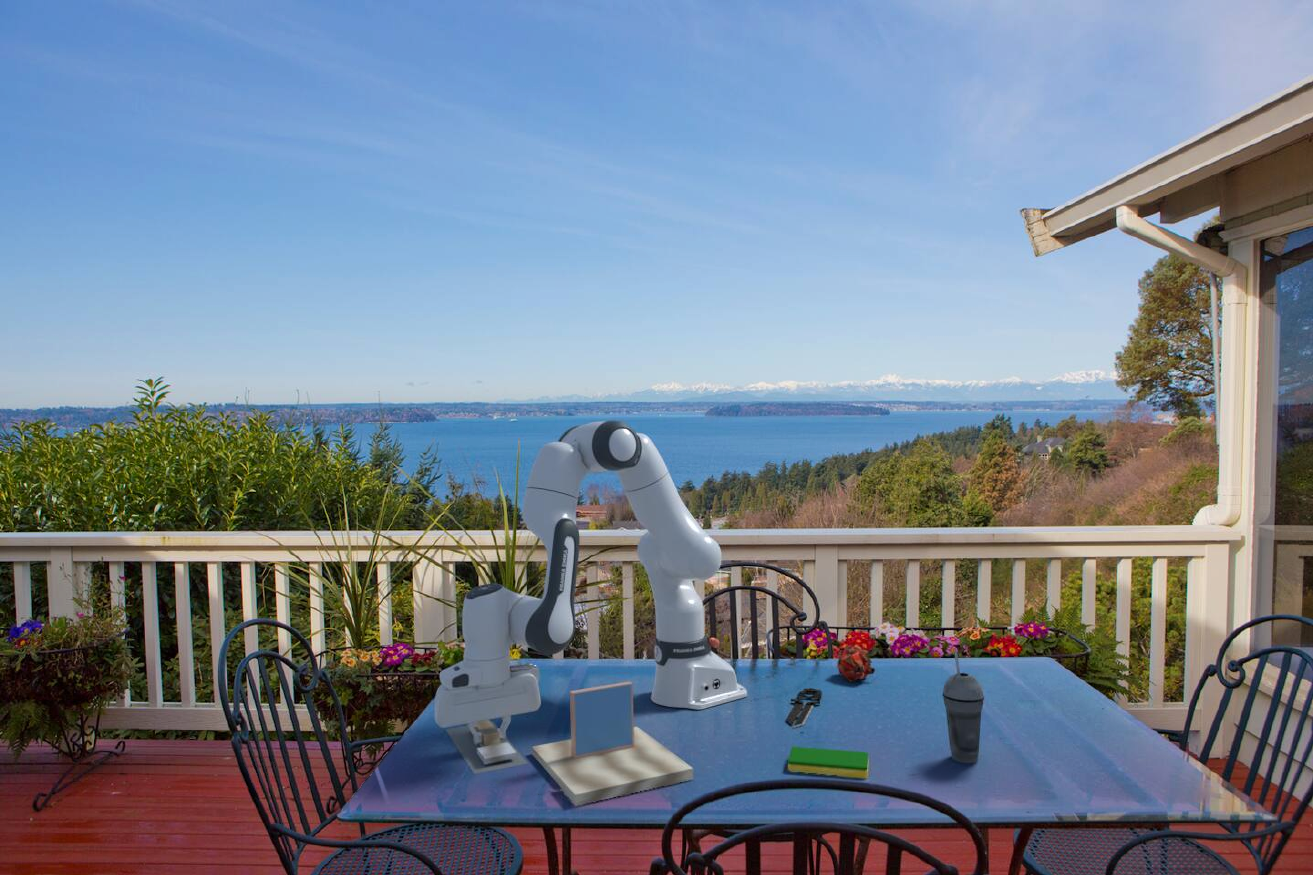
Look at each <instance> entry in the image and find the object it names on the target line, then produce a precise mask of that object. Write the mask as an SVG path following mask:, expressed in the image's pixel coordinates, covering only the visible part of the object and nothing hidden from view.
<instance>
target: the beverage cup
mask: <svg viewBox="0 0 1313 875" xmlns="http://www.w3.org/2000/svg"><path fill="white" fill-rule="evenodd" d="M953 652H954V660H955V667H956V673H954V674H952V675H951V676H949V677H948V678H947V680H946V681H945V683H944V685H943V690H942V698H943V702H944V706H945V713H946V722H947V730H948V739H949V748H950V753H951V759H952V760H953V761H955V762H957V763H962V764H975V763H977V762H978V760H979V752H980V739H981V738H980V737H981V736H980V735H981V722H982V721H981V720H982V710H983V705H984V701H985V695H984V691H983V687H982V685H981V684H980V682H979V681H978V680H977V679H976V678H975V677H974V676H972V674H969V673H966V672H961V670H960V665H959V656H958V655H959V654H958V649H957V648H954V649H953Z"/></svg>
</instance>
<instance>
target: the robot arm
mask: <svg viewBox="0 0 1313 875" xmlns="http://www.w3.org/2000/svg"><path fill="white" fill-rule="evenodd" d="M610 471H611V472H612V471H613V472H614V473H615V474H616V476H617V478H618V480H619V482H620V485H621V487H622V490H623V492H624V495H625V497H626V499H627V501H628V503H629V506H630V507H631V509H632V512H633V514H634V516H635V519H636V520H637V521H638V522H639V524H640V525H642V526H643V528H645V529H646V530H647V531H646V532H645V533H644V534H642V536H641V537H640V538H639V541H638V543H637V550H636V552H637V557H638V560H639V561H640V563H641V564H642V566H643V567H644V569H645V571H646V574H647V578H648V581H649V583H650V587H651V592H652V594H653V595H652V596H653V600H654V610H655V634H656V636H655V637H654V659H655V674H654V683H653V688H652V692H651V696H650V699H651V701H652V702H653V703H655V704H657V705H660V706H664V707H670V708H683V709H684V708H685V709H692V710H704V709H707V708H708V709H709V708H711V707H714V706H718V705H722V704H726V703H729V702H732V701H733V702H734V701H735V700H739V699H743V698H746V697H747V696H748V692H747V691H748V690H747V688H745V687H744V686H743V685H741V684H740V683H738V681H737V675H736V673H735V668H733V667H732V665H731V664H730V663H729V662H727V661H725V659H723V658H721V656H719V655H717V654H716V653H715V652H713V651H712V649H711V647H712V648H713V649H717V648H719V646H720V640H719V639H718V638H715V637H711V638H710V637H709V636H706V635H705V625H704V623H705V622H704V603H703V601H702V599H701V597H700V596H699V594H698V593H697V590H696V589H695V586H694V582H695V581H696V582H697V581H705V580H708V579H711V578H712V577H714V576H715V575H717V573H718V571H719V569H720V568H721V565H722V562H723V557H722V556H723V553H722V550H721V547H720V545H719V544H718V542H717V541H716V540H715V539H714V538H712V537H711V536H709V535H708V533H707V532H706V531H705V530H704V529H703V528H702V527H701V525H700V524H699V523H698V522H697V520H696V519H695V517H694V516H693V515H692V514H691V512H690V511H689V508H687V506H686V505H685V503H684V502H683V500H682V498H681V497H680V494H679V491H678V490H677V487H676V485H675V484H674V481H673V478H672V476H671V474H670V471H669V470H668V467H667V465H666V464H665V461H664V459H663V457H662V456H661V454H660V452H659V450H658V448H657V447H656V445H655V444H654V443H653V441H652V440H651V438H650V437H649V436H648V435H646V434H645V433H642V432H636V431H635V430H634V429H633V428H632V427H631V426H630V425H628V424H626V423H625V422H622V421H619V420H608V421H607V420H605V421H604V420H603V421H602V420H601V421H593V422H592V421H591V422H589V423H587V424H582V425H574V426H573V427H571V428H569V429H567V430H566V431H565V432H563V434H562V435H561V436H560V437H559V438H558V440H557V441H553V442H548V443H546V444H544V445H543V446H541V447H540V449H539V451H538V453H537V455H536V457H535V459H534V463H533V465H532V467H531V471H530V473H529V476H528V480H527V483H526V488H525V491H524V496H523V499H522V506H521V507H522V508H521V514H522V515H521V516H522V519H523V523H524V524H525V526H526V527H527V528H528V530H529V531H530V532H531V533H532V534H533V535H534V536H536V537H537V538H538V539H539V540H540V541H541V542H542V544H543V546H544V548H545V550H546V554H547V555H546V556H547V560H546V561H547V563H546V568H545V570H546V571H545V579H544V580H545V581H544V586H543V587H544V588H543V594H542V597H541V598H538V597H534V596H531V595H527V594H522V593H517V592H515V591H512V590H510V589H508V588H506V587H504V586H503V585H502V584H500V583H495V582H494V583H486V584H482V585H478V586H475V587H473V588H471V589H470V590H469V591H467V593H466V594H465V596H464V600H463V603H462V604H463V605H462V616H461V617H462V618H461V619H462V622H461V623H462V624H461V625H462V628H461V629H462V636H463V639H464V652H463V660H461V661H459V662H457V663H455V664H453V665H451V666H449V667H446V668H445V669H443V670H441V671H440V673H439V681H440V685H439V687H437V690H436V693H435V697H434V698H435V699H434V711H433V712H434V720H435V724H437V726H439V727H440V728H441V729H445V728H446V729H447V728H452V727H455V726H461V725H465V724H466V726H468V727H469V729H470V730H471V732H472V733H473V739H474V743H475V745H476V744H481V743H483V740H482V739H483V734H482V733H481V732H476V730H475V729H474V727H477V722H478V721H483V720H489V721H490V720H494V719H498V718H500V719H502V723H501V725H500V727H498V729H497V730H498V732H499V733H500V740H502V739H506V738H507V735H506V734H507V732H506V731H507V729H508V727H509V725H510V724H511V720H512V716H514V715H521V714H526V713H532V712H536V711H538V710H539V709H540V707H541V705H542V702H541V695H540V694H541V693H540V689H539V688H540V687H539V682H540V670H539V667H538V666H537V665H535V664H532V663H531V662H527V663H524V664H515V665H514V664H513V665H511V654H510V653H511V652H510V651H511V650H510V647H511V646H512V645H516V644H517V645H519V646H523V647H526V648H530V649H532V650H534V651H536V652H538V653H541V654H542V655H545V656H546V655H547V656H552V655H557V654H558V653H560V652H562V651H563V650H565V649H566V647H567V646H568V645H569V644H570V643H571V641H572V639H573V637H574V635H575V632H576V623H577V622H576V610H575V598H576V597H575V596H576V595H575V594H576V585H577V576H578V575H577V574H578V566H579V557H580V556H579V555H580V531H579V528H578V525H577V507H578V501H579V496H580V492H581V485H582V483H583V480H584V478H585V477H586V476H587V474H602V473H606V472H610Z"/></svg>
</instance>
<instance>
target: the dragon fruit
mask: <svg viewBox="0 0 1313 875" xmlns="http://www.w3.org/2000/svg"><path fill="white" fill-rule="evenodd" d="M869 656H870V653H869V651H868V650H865V649H862V648H861V647H860V646H858V645H854V646H853V645H847V646H846V647H845V648H844V649H843V650H841V651H840V652H838V654H837V658H838V661H837V664H836V666H837V669H838V673H839V675H840V676H841V677H842V676H844V678H845V679H846V680H847V681H848V682H850V683H855V682H856V681H857V679H859V680H864V679H866V678H867V677H868V675H873V674H874V673H875V671H876V668H875V667H872V663H873V662H872V661H873V660H872V659H871V658H870V657H869Z"/></svg>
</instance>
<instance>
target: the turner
mask: <svg viewBox="0 0 1313 875" xmlns="http://www.w3.org/2000/svg"><path fill="white" fill-rule="evenodd" d="M468 729H469V727H468ZM474 729H475V730H476V732H481V733H482V734H483V739H482V740H483V743H481V744H480V746H481V747H480V748H477V754H478V755H479V757H480V758H481V760H482V761H483V763H484V764H489V763H494V762H499V761H503V760H508V759H513V758H517V754H516V751H515V750H514V749H513V748H512V746H511V745H510V744H509V743H508V742H505V743H500V733H499V732H498V730H497V729H496V728H495V727H494V726H493V724H492V723H491V721H490V719H489V720H483V721H478V722H477V727H474ZM469 731H470V732H471V730H470V729H469ZM471 734H472V735H473V733H472V732H471Z"/></svg>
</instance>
